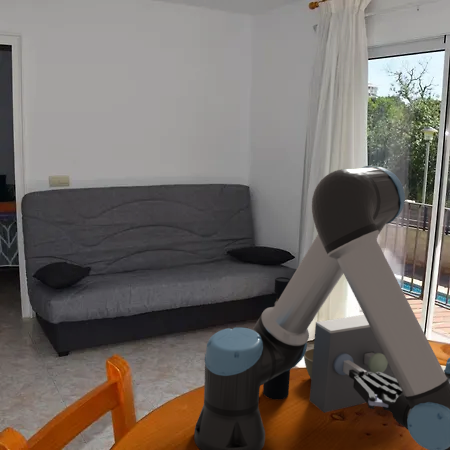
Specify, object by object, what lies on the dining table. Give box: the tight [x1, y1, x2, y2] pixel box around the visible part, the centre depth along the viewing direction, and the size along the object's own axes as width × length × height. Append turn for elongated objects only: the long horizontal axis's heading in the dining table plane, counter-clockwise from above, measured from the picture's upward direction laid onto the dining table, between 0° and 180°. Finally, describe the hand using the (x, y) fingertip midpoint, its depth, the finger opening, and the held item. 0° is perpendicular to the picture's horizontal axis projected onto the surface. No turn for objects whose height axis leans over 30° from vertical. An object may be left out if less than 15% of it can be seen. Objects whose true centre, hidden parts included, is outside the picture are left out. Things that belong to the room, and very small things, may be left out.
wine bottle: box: [262, 276, 291, 401], centre depth 140 cm, size 6×6×30 cm
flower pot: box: [303, 348, 314, 379], centre depth 150 cm, size 10×10×7 cm
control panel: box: [309, 314, 396, 414], centre depth 140 cm, size 6×24×21 cm, turn 116°
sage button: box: [364, 352, 388, 374], centre depth 136 cm, size 4×5×5 cm
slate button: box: [333, 353, 354, 375], centre depth 135 cm, size 4×5×5 cm
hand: (345, 365), depth 133 cm, fingers closed
